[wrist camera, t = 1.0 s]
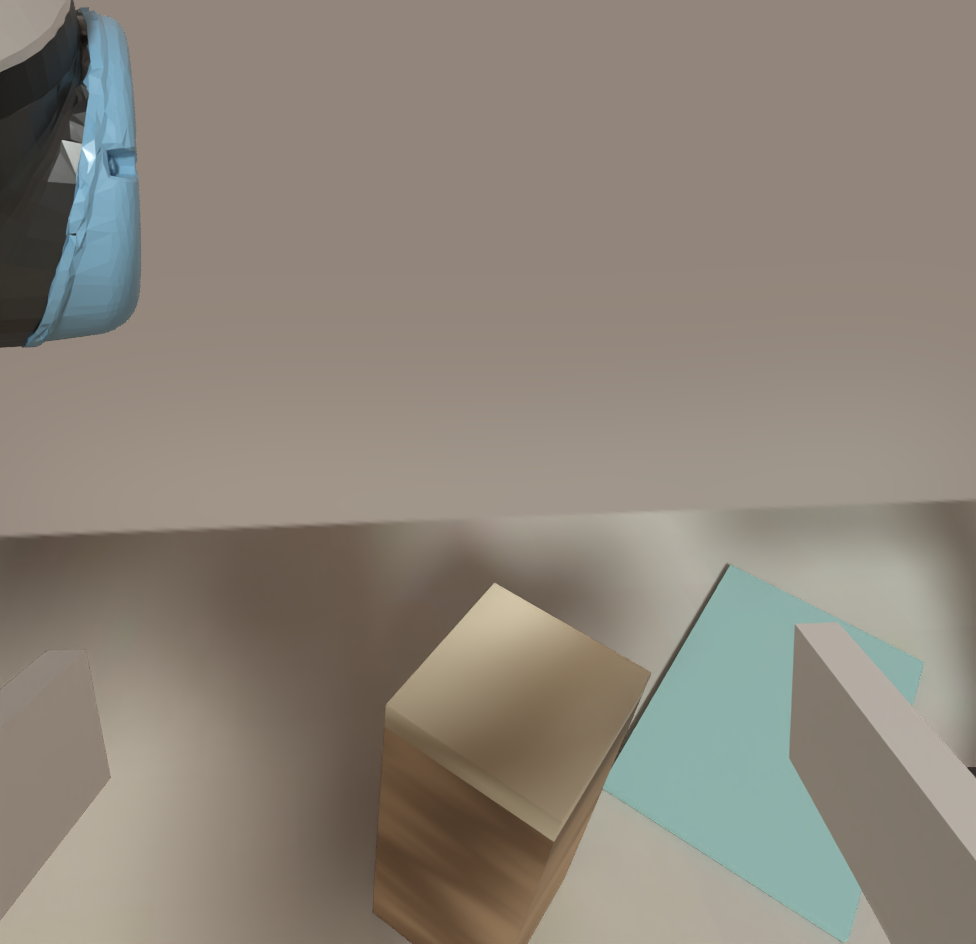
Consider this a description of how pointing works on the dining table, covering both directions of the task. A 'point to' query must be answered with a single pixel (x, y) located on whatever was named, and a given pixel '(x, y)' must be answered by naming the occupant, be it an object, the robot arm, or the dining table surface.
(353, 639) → the dining table surface
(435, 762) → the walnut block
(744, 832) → the felt mat
